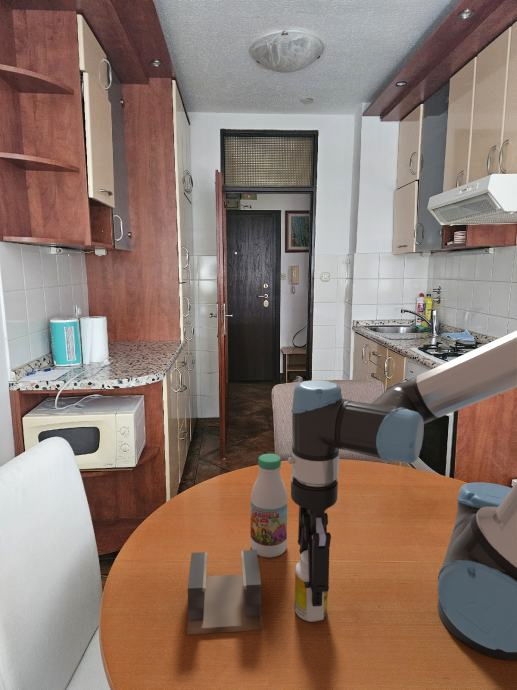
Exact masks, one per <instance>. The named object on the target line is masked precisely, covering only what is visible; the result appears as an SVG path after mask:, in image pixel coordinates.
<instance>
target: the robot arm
mask: <svg viewBox="0 0 517 690" xmlns="http://www.w3.org/2000/svg"><path fill="white" fill-rule="evenodd" d="M516 388H517V329H516V330H514V331H512V332H510V333H508V334H506V335H504V336H503V335H502V336H500V337H499V338H497V339H495V340H492V341H490V342H487V343H486V344H483V345H481V346H480V347H476V348H475V349H473V350H470V351H468V352H466V353H464V354H462V355H460V356H458V357H456V358H453V359H451V360H448V361H446V362H444V363H442V364H440V365H438V366H436V367H433V368H431V369H429V370H426V371H425V372H423V373H420V374H418V375H417V376H414V377H412V378H409V379H408V380H405V381H400V382H397V383H394V384H392V385H390V386H388V387H387V388H386V389H385V390H384V391H383V393H382V394H381V395H379V396H378V397H377V398H376V399H374V400H373V401H372V402H371V403H368V402H361V401H354V400H350V399H346V398H343V394H342V389H341V386H340V385H339V384H338V383H335V382H331V381H328V380H318V379H317V380H315V379H313V380H304V381H301V382H300V383H298V384H296V386H295V387H294V388H293V389H294V390H293V397H292V398H293V399H292V409H291V411H290V412H291V415H292V416H291V418H292V421H291V423H292V427H291V429H292V431H291V433H292V435H291V436H292V438H291V440H292V444H291V455H292V456H291V457H288V459H287V463H289V464H291V477H290V497H291V500H292V501H293V503H295V505H298V528H297V529H298V533H297V534H298V535H297V536H298V538H297V544H298V546H299V553H300V557H301V554H302V552H304V551H306V550H308V566H309V581H308V582H304V584H305V588H307V603H306V619H307V621H306V622H310V621H311V620H319V621H323V620H324V617H325V616H324V592H327V591H328V592H329V589H330V587H329V586H330V585H329V583H330V546H331V539H332V535H331V532H328V530H327V529H328V528H327V526H328V525H329V518H328V517H329V515H328V513H327V512H326V510H327V509H329V508H332V507H333V506H334V505H335V504H336V503H337V501H338V492H339V491H338V488H339V481H338V478H339V471H340V469H339V468H340V450H343V451H348V452H352V453H356V454H361V455H365V456H369V457H373V458H378V459H380V460H381V459H382V460H383V461H387V462H396V463H402V464H403V463H404V464H412V463H415V462H416V461H417V460H418V459H419V456H420V453H421V450H422V446H423V441H424V430H425V429H424V427H425V425H426V424H427V423H430V422H432V421H434V420H436V419H440V418H441V417H445V416H447V415H448V414H449V415H450V414H451V413H454V412H457V411H459V410H462V409H465V408H467V407H469V406H472V405H474V404H477V403H479V402H480V403H481V402H482V401H485V400H488V399H490V398H493V397H496V396H498V395H500V394H503V393H505V392H508V391H511V390H513V389H516ZM456 501H457V508H456V509H457V510H456V517H455V522H454V526H453V529H452V533H451V536H450V540H449V543H448V546H447V549H446V553H445V557H444V559H443V563H442V565H441V568H440V569H439V572H438V576H437V580H438V584H437V596H438V598H437V612H438V616H439V618H440V620H441V622H442V624H443V625H444V626H445V627H446V629H447V630H448V631H449V632H450V633H451V634H452V635H453V636H454V638H456V639H457V640H459V641H460V642H461V643H462V644H464V645H466V646H468V647H469V648H471V649H472V650H475V651H477V652H478V653H481V654H482V655H485V656H489V657H491V658H495V659H499V660H504V661H505V660H506V661H507V660H508V661H517V481H516V482H515V483H514V485H513V486H512V487H509V486H505V485H503V484H498V483H497V484H496V483H491V482H480V481H479V482H476V481H475V482H469V483H465V484H463V485H461V486H460V488H459V490H458V497H456ZM300 557H299V558H300Z"/></svg>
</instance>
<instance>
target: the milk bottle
mask: <svg viewBox="0 0 517 690" xmlns="http://www.w3.org/2000/svg"><path fill="white" fill-rule="evenodd" d="M257 464H258V466H257V467H258V469H259V470H258V475H257V478H256V480H255V482H254V484H253V486H252V490H251V494H250V495H251V496H250V530H249V531H250V549H251V550H257V556H260V557H264V558H274V557H275V558H276V557H278V556H281V555H283V554H284V552H285V551H286V550H287V547H288V519H289V518H288V516H289V515H288V510H289V509H288V508H289V506H288V505H289V503H288V501H289V500H288V492H287V488H286V485H285V483H284V481H283V478H282V476H281V472H280V470H281V468H282V466H281V465H282V459H281V456H280V455H278V454H276V453H264V454H261V455H260V456H258V461H257Z"/></svg>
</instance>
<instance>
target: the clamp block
mask: <svg viewBox="0 0 517 690" xmlns="http://www.w3.org/2000/svg"><path fill="white" fill-rule="evenodd" d="M240 556H241V571H242V572H241V574H222V575H221V574H220V575H207V573H208V572H207V571H208V552H205V551H203V552H202V551H200V552H191V553H190V563H189V565H190V566H189V573H188V574H189V575H188V583H187V609H188V611H187V612H188V613H187V615H188V616H187V625H186V626H187V627H186V634H187V635H198V634H199V635H200V634H201V635H202V634H203V635H204V634H215V633H216V634H218V633H230V632H231V633H233V632H245V631H246V632H247V631H249V632H250V631H262V630H263V618H262V581H261V573H260V567H259V558H258V556H259V555H257V550H252V549H244V550H241V551H240Z"/></svg>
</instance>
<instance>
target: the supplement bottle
mask: <svg viewBox="0 0 517 690" xmlns="http://www.w3.org/2000/svg"><path fill="white" fill-rule="evenodd" d="M300 556H301V557H299V561H298V562H297V563H296V565H295V568H294V569H295V570H294V572H295V573H294V575H295V576H294V603H293V604H294V612H295V613H296V614H297V616H298V617H299V618H300V619H302V620H304V621H306V622H308V621H307V619H306V603H307V588H305V584H304V582H308V581H309V566H308V550H306V551H304V552H302V554H300ZM328 592H329V591H327V592H324V617H325V616H326V615H327V611H328V596H329V595H328ZM318 621H320V620H311V621H309V622H311V623H313V622H318Z"/></svg>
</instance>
